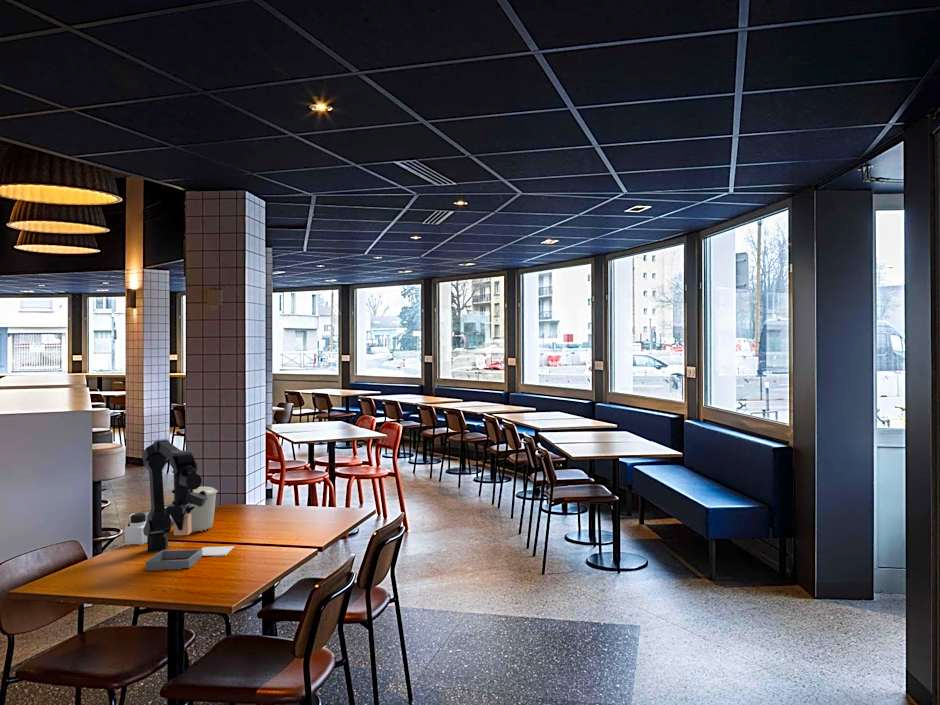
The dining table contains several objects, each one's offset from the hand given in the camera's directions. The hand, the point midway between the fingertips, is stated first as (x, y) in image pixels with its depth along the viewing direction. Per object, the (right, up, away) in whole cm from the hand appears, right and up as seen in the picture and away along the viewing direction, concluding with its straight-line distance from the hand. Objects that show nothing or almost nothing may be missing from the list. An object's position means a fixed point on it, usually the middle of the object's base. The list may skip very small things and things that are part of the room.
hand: (182, 528), depth 267 cm
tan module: (0, -2, 0) cm, 2 cm away
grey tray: (-2, -12, -3) cm, 12 cm away
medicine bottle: (-29, -13, +28) cm, 43 cm away
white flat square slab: (+8, -12, +12) cm, 18 cm away
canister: (-14, -13, +49) cm, 53 cm away
